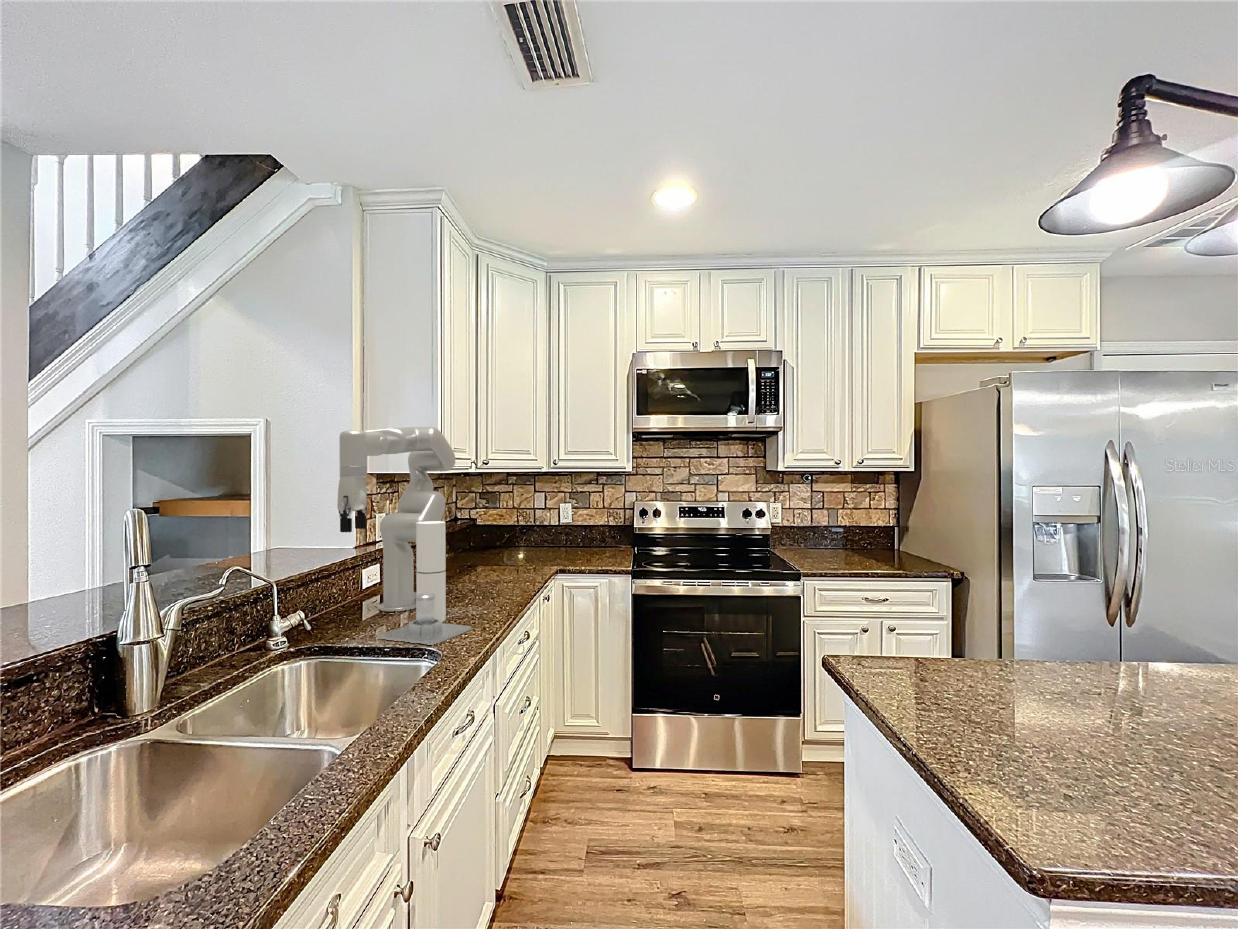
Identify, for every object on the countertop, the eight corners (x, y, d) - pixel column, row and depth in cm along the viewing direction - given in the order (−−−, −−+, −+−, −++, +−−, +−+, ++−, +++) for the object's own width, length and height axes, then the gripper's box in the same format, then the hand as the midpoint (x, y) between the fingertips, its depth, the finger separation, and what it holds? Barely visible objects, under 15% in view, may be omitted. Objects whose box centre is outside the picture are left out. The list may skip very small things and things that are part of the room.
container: (410, 622, 194) (410, 523, 194) (428, 616, 202) (428, 520, 202) (433, 624, 191) (433, 524, 191) (451, 618, 199) (451, 521, 199)
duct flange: (420, 624, 192) (420, 612, 192) (471, 629, 185) (471, 617, 185) (377, 639, 175) (377, 626, 175) (431, 646, 169) (431, 632, 169)
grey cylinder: (411, 632, 179) (411, 596, 179) (424, 627, 184) (424, 592, 184) (427, 634, 177) (427, 597, 177) (439, 629, 182) (439, 594, 182)
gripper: (353, 472, 199) (353, 527, 199) (326, 473, 181) (326, 533, 181) (377, 472, 198) (377, 527, 198) (352, 473, 181) (353, 533, 181)
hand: (353, 530), depth 190 cm, fingers open, 9 cm apart
